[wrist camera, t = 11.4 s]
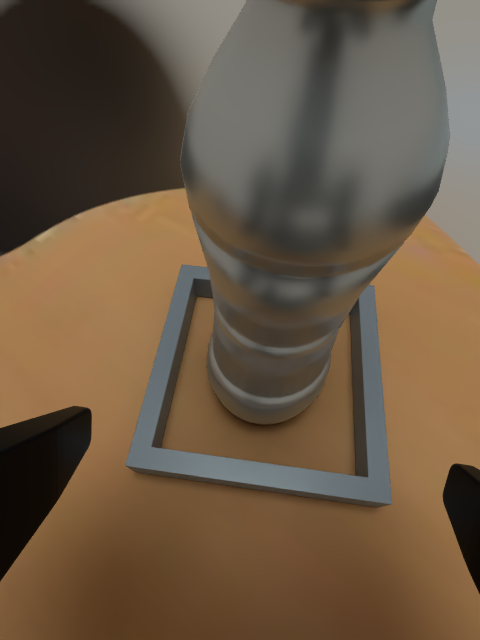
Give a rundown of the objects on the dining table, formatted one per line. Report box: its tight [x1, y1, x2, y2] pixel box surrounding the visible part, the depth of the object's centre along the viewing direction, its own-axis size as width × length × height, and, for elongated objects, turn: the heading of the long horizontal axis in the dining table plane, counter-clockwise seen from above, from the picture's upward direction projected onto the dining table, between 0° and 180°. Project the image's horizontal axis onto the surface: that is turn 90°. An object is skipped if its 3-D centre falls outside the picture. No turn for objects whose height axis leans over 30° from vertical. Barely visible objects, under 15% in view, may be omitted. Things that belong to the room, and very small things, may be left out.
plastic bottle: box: [180, 0, 450, 424], centre depth 13 cm, size 6×7×20 cm
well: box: [125, 265, 392, 507], centre depth 21 cm, size 12×12×2 cm
